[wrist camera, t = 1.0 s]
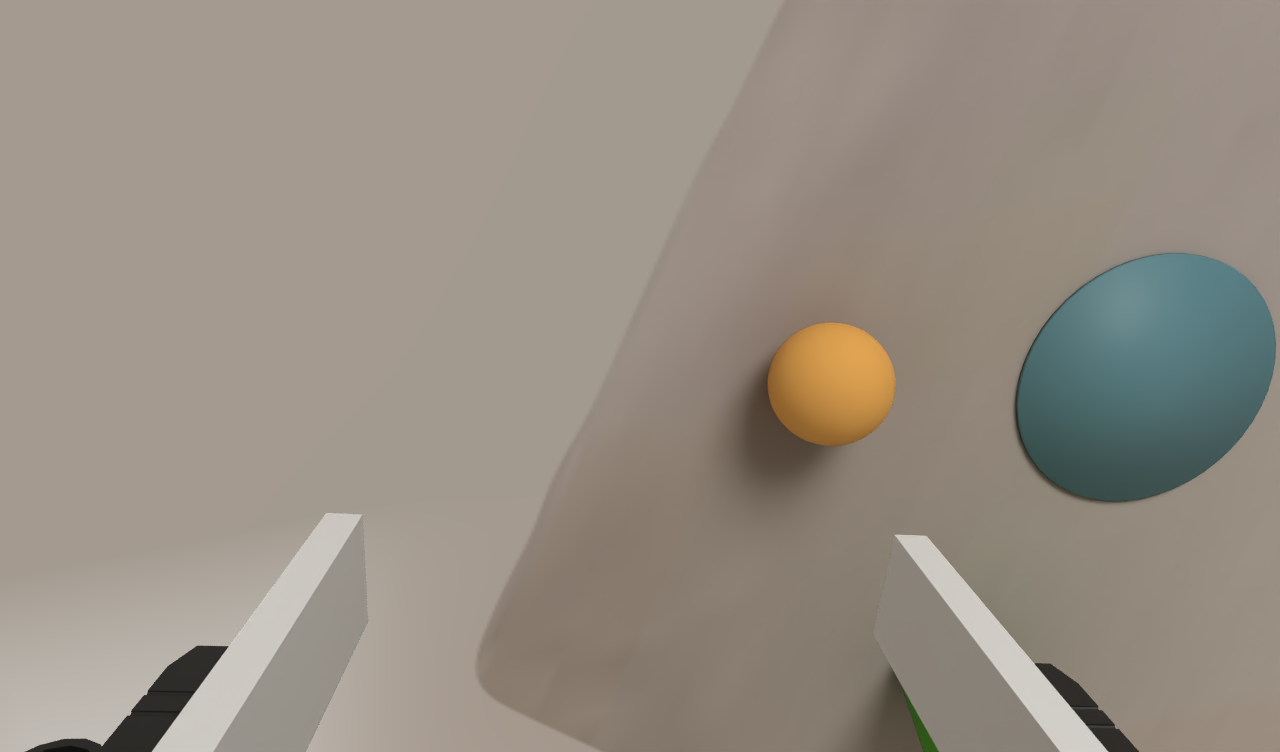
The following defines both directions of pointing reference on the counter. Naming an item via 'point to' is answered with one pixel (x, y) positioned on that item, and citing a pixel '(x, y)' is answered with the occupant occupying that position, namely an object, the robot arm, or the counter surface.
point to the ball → (831, 384)
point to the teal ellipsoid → (1146, 376)
